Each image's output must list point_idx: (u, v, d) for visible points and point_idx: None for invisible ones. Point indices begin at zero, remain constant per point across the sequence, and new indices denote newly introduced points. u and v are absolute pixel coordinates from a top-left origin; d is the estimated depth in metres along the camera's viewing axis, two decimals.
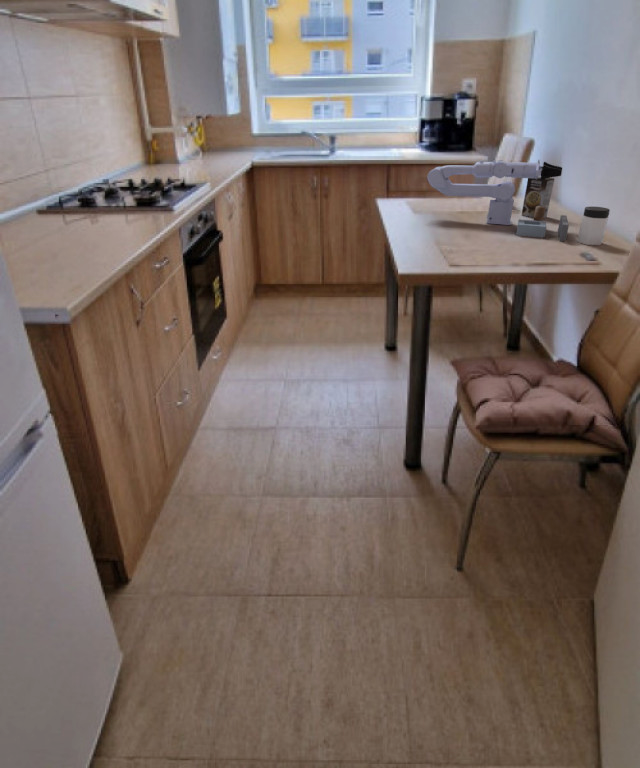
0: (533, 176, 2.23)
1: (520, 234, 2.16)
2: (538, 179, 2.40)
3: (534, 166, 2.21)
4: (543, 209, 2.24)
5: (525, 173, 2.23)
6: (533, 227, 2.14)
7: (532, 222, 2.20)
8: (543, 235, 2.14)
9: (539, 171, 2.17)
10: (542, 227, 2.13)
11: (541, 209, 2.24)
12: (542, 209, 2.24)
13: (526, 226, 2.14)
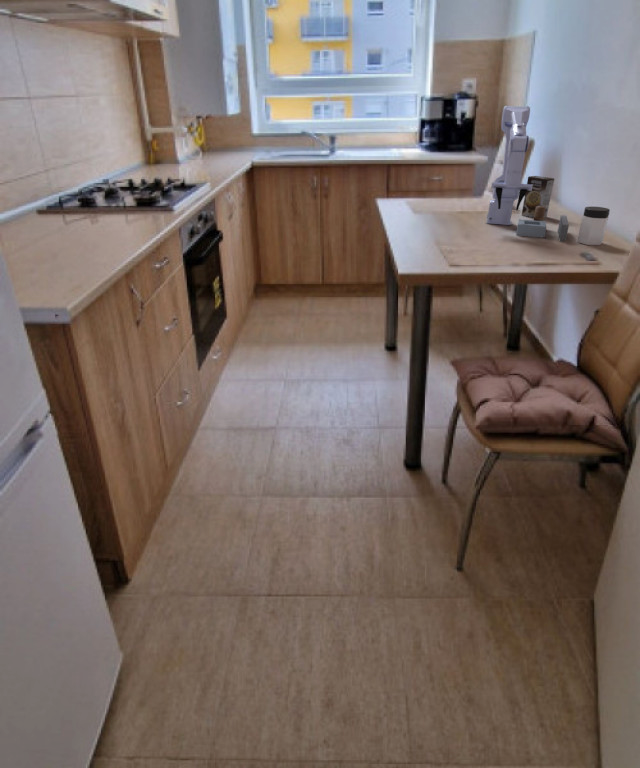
0: None
1: (520, 234, 2.16)
2: (538, 179, 2.40)
3: (506, 181, 2.13)
4: (543, 209, 2.24)
5: None
6: (533, 227, 2.14)
7: (532, 222, 2.20)
8: (543, 235, 2.14)
9: None
10: (542, 227, 2.13)
11: (541, 209, 2.24)
12: (542, 209, 2.24)
13: (526, 226, 2.14)
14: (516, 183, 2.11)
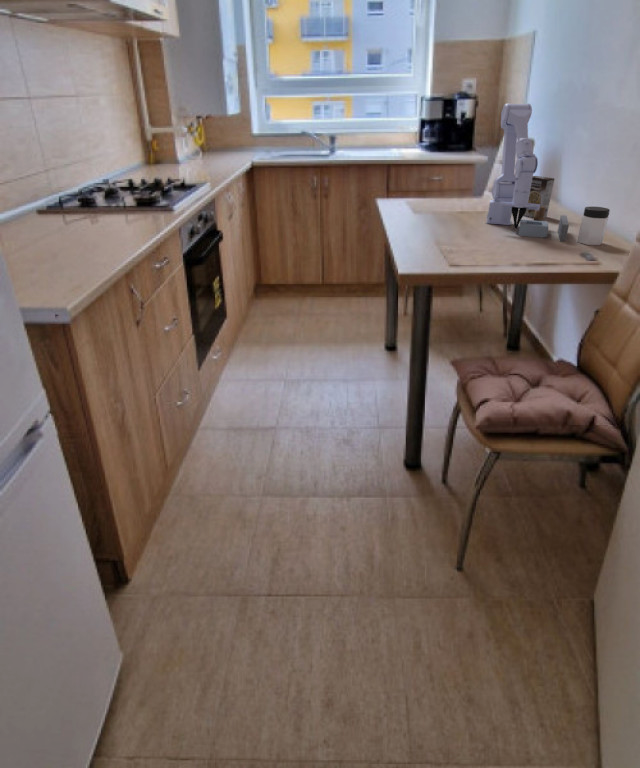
0: None
1: (522, 234, 2.16)
2: (538, 179, 2.40)
3: (514, 201, 2.15)
4: (543, 209, 2.24)
5: None
6: (535, 227, 2.13)
7: (534, 222, 2.20)
8: (545, 235, 2.14)
9: (499, 205, 2.18)
10: (544, 227, 2.12)
11: (541, 209, 2.24)
12: (542, 209, 2.24)
13: (528, 226, 2.14)
14: (524, 203, 2.13)
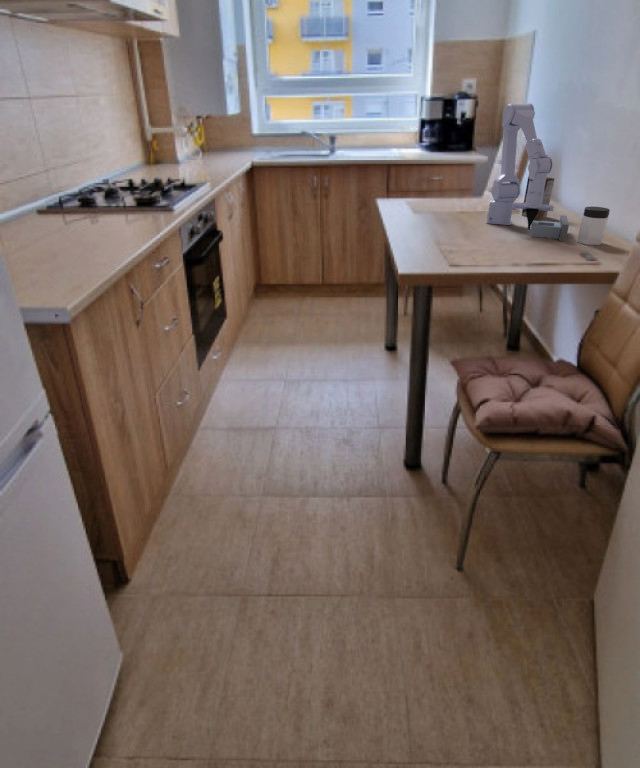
0: None
1: (534, 235, 2.15)
2: None
3: (527, 202, 2.13)
4: None
5: None
6: (547, 228, 2.12)
7: (546, 223, 2.19)
8: (558, 236, 2.12)
9: (512, 206, 2.17)
10: (557, 228, 2.11)
11: None
12: None
13: (540, 227, 2.13)
14: (537, 204, 2.12)
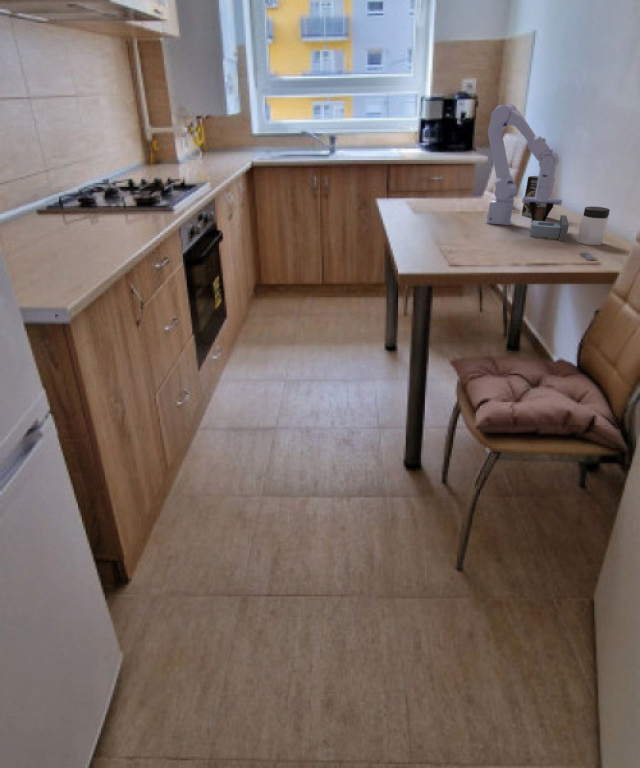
0: None
1: (534, 235, 2.15)
2: None
3: (536, 196, 2.23)
4: (543, 209, 2.24)
5: None
6: (547, 228, 2.12)
7: (546, 223, 2.19)
8: (557, 236, 2.12)
9: (522, 201, 2.26)
10: (556, 228, 2.11)
11: (541, 209, 2.24)
12: (542, 209, 2.24)
13: (540, 227, 2.13)
14: (546, 198, 2.21)
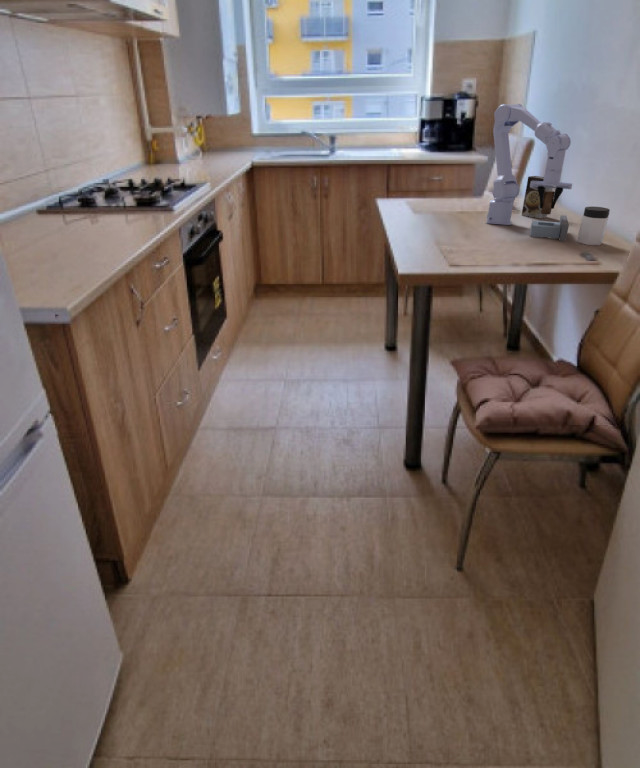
0: None
1: (534, 235, 2.15)
2: (538, 179, 2.40)
3: (545, 180, 2.12)
4: (552, 193, 2.14)
5: None
6: (547, 228, 2.12)
7: (546, 223, 2.19)
8: (557, 236, 2.12)
9: (530, 185, 2.15)
10: (556, 228, 2.11)
11: (550, 194, 2.14)
12: (551, 193, 2.14)
13: (540, 227, 2.13)
14: (556, 182, 2.11)
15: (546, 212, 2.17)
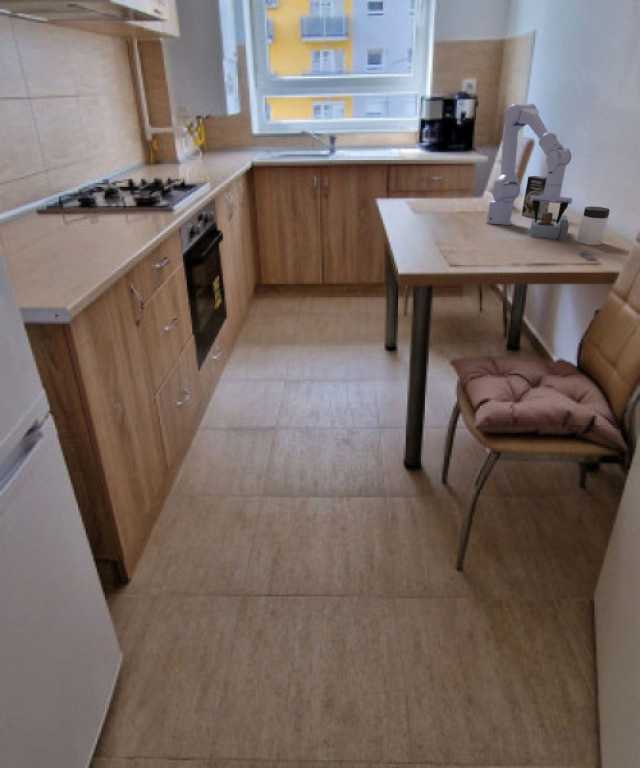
0: None
1: (534, 235, 2.15)
2: (538, 179, 2.40)
3: (545, 195, 2.10)
4: (550, 215, 2.13)
5: None
6: (547, 228, 2.12)
7: None
8: (557, 236, 2.12)
9: (530, 199, 2.14)
10: (556, 228, 2.11)
11: (548, 215, 2.13)
12: (549, 215, 2.13)
13: (540, 227, 2.13)
14: (556, 196, 2.09)
15: None
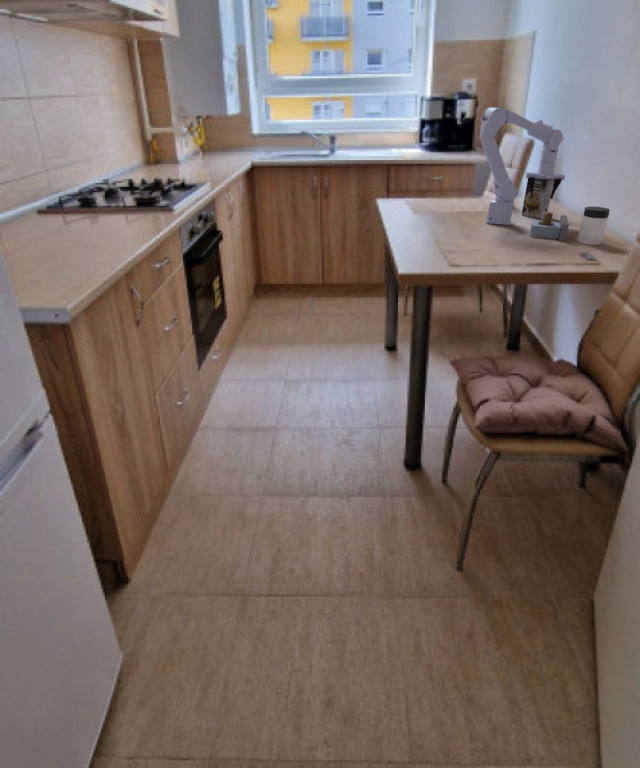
0: None
1: (534, 235, 2.15)
2: (538, 179, 2.40)
3: (540, 172, 2.27)
4: (550, 215, 2.13)
5: None
6: (547, 228, 2.12)
7: None
8: (557, 236, 2.12)
9: (526, 176, 2.31)
10: (556, 228, 2.11)
11: (548, 216, 2.13)
12: (549, 215, 2.13)
13: (540, 227, 2.13)
14: (550, 173, 2.26)
15: None
